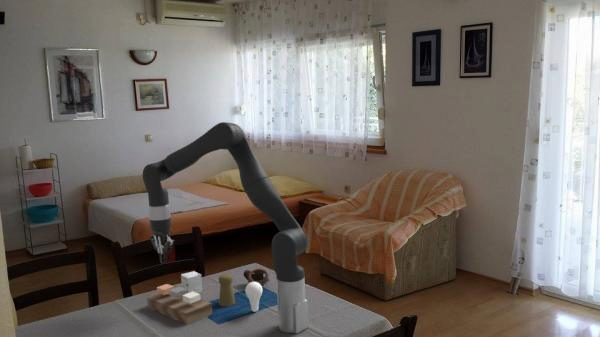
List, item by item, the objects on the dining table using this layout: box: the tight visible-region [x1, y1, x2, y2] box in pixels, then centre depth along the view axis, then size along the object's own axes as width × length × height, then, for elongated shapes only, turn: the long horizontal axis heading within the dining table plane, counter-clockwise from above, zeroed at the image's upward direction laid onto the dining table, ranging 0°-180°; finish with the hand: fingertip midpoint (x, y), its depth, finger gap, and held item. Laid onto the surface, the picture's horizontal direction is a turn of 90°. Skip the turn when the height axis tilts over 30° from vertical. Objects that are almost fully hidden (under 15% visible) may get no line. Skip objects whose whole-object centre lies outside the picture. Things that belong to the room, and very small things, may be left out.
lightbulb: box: [244, 282, 263, 313], centre depth 185 cm, size 6×6×11 cm
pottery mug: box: [243, 267, 270, 287], centre depth 210 cm, size 12×10×8 cm
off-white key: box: [183, 292, 202, 304], centre depth 183 cm, size 4×4×2 cm
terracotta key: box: [156, 283, 175, 295], centre depth 193 cm, size 4×4×2 cm
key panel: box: [146, 292, 213, 325], centre depth 189 cm, size 24×11×4 cm, turn 49°
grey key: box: [169, 286, 187, 298], centre depth 188 cm, size 4×4×2 cm
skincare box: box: [180, 270, 203, 294], centre depth 206 cm, size 6×6×7 cm
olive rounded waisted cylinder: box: [218, 273, 236, 307], centre depth 193 cm, size 6×6×11 cm
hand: (163, 262), depth 192 cm, fingers closed
